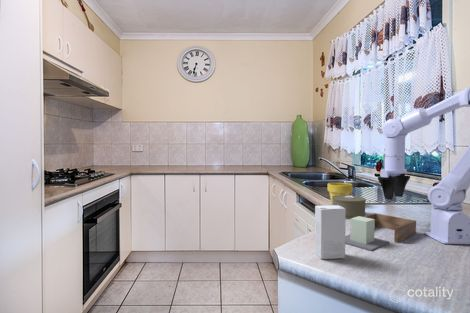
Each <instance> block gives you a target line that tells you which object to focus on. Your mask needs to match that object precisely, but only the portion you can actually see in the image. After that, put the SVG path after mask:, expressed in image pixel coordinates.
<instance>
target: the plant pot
mask: <svg viewBox="0 0 470 313" xmlns="http://www.w3.org/2000/svg"><path fill="white" fill-rule="evenodd" d="M327 192H328V194H329V198H330V204H331V205H332V197H333V196H338V195H349V196H351V194H352V192H353V184H352V183H349V182H328V183H327Z"/></svg>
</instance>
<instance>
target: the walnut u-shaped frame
mask: <svg viewBox="0 0 470 313" xmlns="http://www.w3.org/2000/svg"><path fill="white" fill-rule="evenodd" d="M363 217H366V218H371V219H375V227H380V228H384V229H389V230H393V231H394V238H393V239H394V243H400V242H401V241H403V240H406V239H408V238H410V237H412V236H415V235H416V234H417V220H414V219H413V220H412V219H409V218H403V217H398V216H392V215H387V214H382V213H381V214H380V213H376V212H373V213H371V214H365V216H363Z"/></svg>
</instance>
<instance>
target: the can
mask: <svg viewBox="0 0 470 313" xmlns="http://www.w3.org/2000/svg"><path fill="white" fill-rule="evenodd" d="M366 201H367V199H366V198H365V197H362V196H356V195H350V196H349V195H338V196H333V197H332V204H331V205H338V206H341V207H343V208H345V209H346V213H345V220H351V218H354V217H358V216H361V217H363V216H366Z"/></svg>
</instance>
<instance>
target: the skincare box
mask: <svg viewBox="0 0 470 313" xmlns="http://www.w3.org/2000/svg"><path fill="white" fill-rule="evenodd" d="M345 213H346V209H345V208H343V207H341V206H338V205H332V204H331V205H330V204H329V205H314V215H315V216H314V244H315V245H314V253H315V255H316V256H317V257H318V258H320V260H334V259H335V260H336V259H337V260H338V259H345V258H346V244H345V236H346V219H345Z"/></svg>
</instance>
